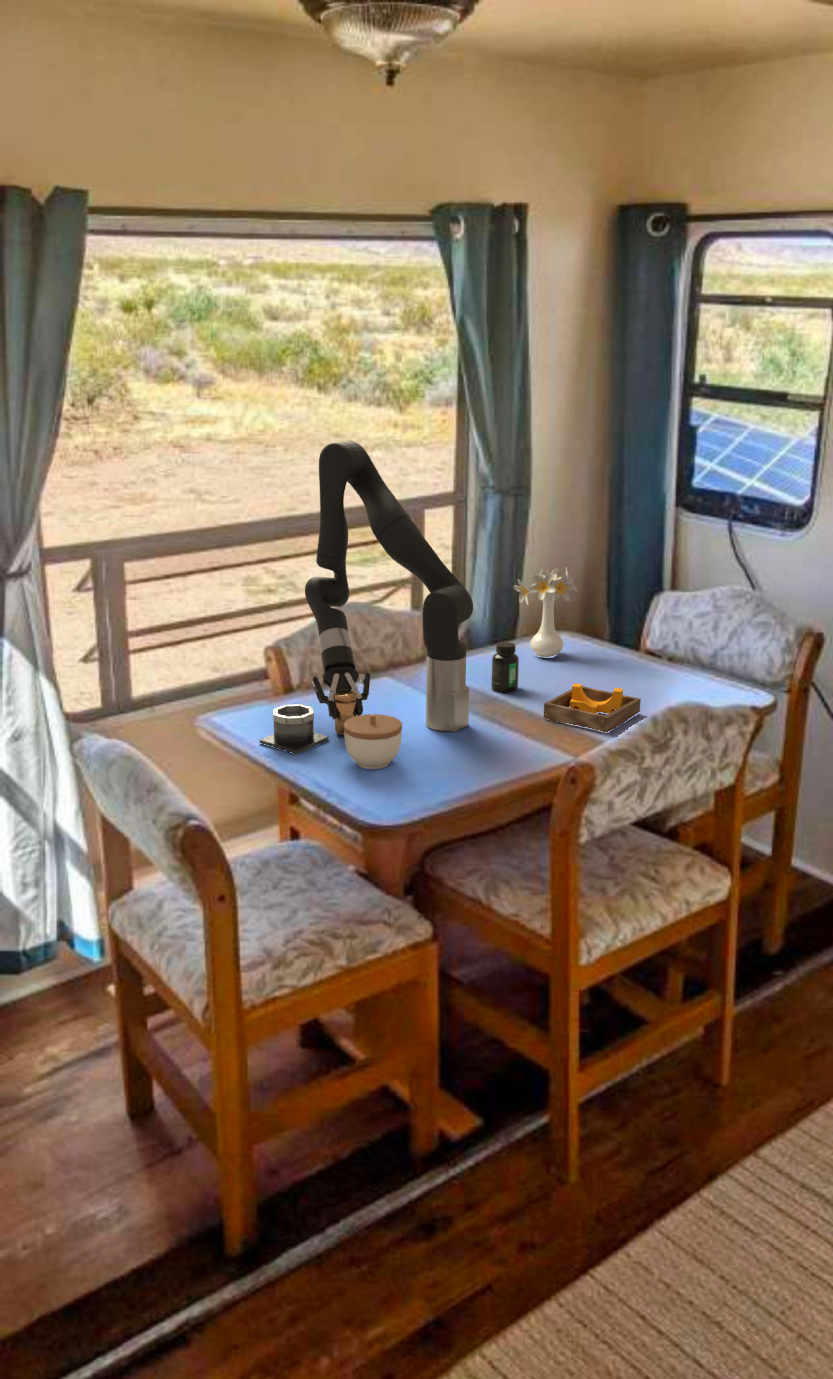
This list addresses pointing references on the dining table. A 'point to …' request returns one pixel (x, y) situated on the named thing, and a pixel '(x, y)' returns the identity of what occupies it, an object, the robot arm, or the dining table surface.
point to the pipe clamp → (586, 704)
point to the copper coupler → (344, 708)
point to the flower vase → (547, 608)
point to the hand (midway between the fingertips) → (347, 716)
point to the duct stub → (294, 729)
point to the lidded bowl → (372, 739)
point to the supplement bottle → (505, 668)
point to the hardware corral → (562, 713)
